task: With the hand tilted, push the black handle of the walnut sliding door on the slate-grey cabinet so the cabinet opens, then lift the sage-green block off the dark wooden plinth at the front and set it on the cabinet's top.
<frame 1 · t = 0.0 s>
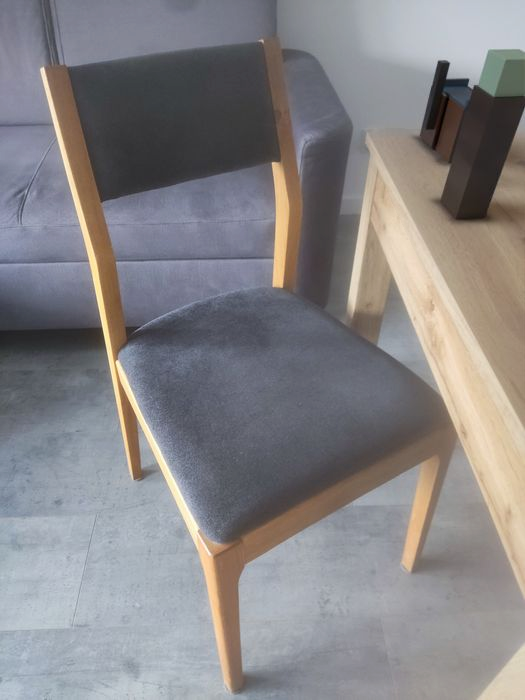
plinth: (461, 212, 74), on the table
block: (500, 91, 63), point 16 cm above the table, touching plinth
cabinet: (450, 151, 89), on the table
door: (432, 102, 85), point 7 cm above the table, slide at 0.0 cm
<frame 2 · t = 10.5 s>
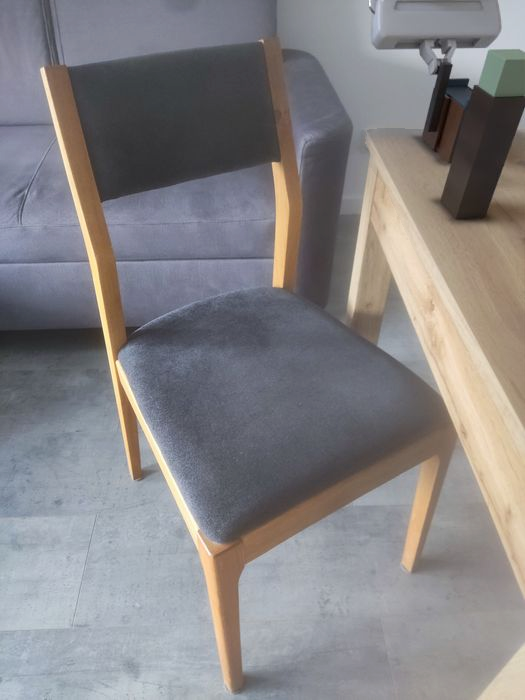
hand: (440, 73, 82), 12 cm above the table, tool tilted 45°, fingers closed, pressing on door
door: (434, 104, 85), point 7 cm above the table, slide at 0.9 cm, touching gripper
everything else where it was.
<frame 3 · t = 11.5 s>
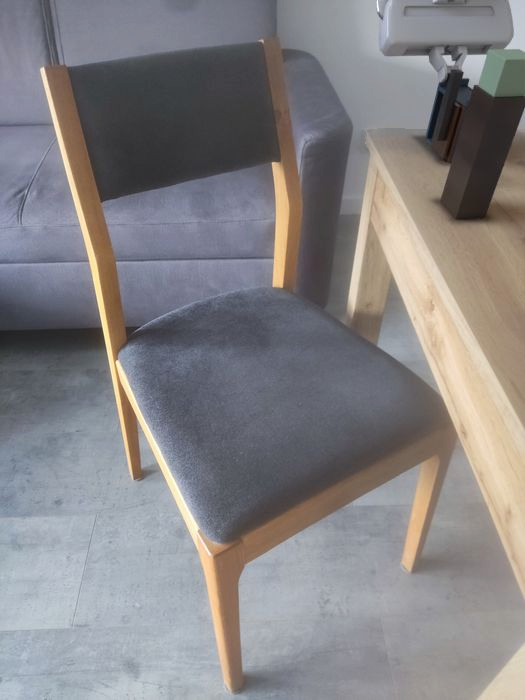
hand: (450, 80, 79), 12 cm above the table, tool tilted 45°, fingers closed, pressing on door
door: (444, 113, 82), point 7 cm above the table, slide at 4.5 cm, touching gripper
everything else where it was.
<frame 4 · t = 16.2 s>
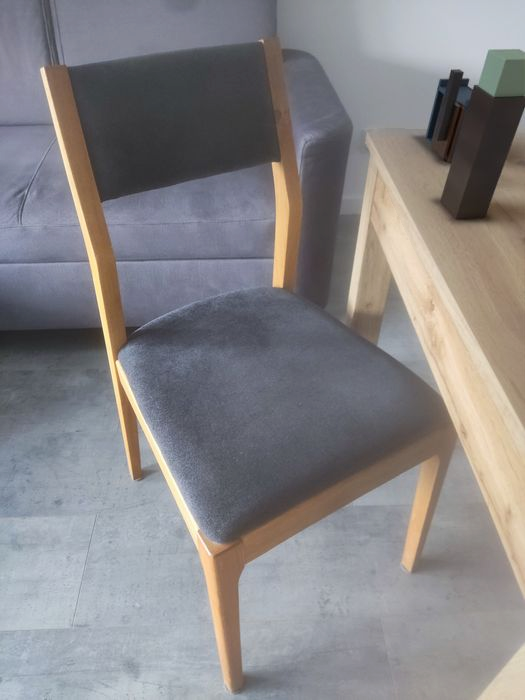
door: (444, 113, 82), point 7 cm above the table, slide at 4.5 cm
everything else where it was.
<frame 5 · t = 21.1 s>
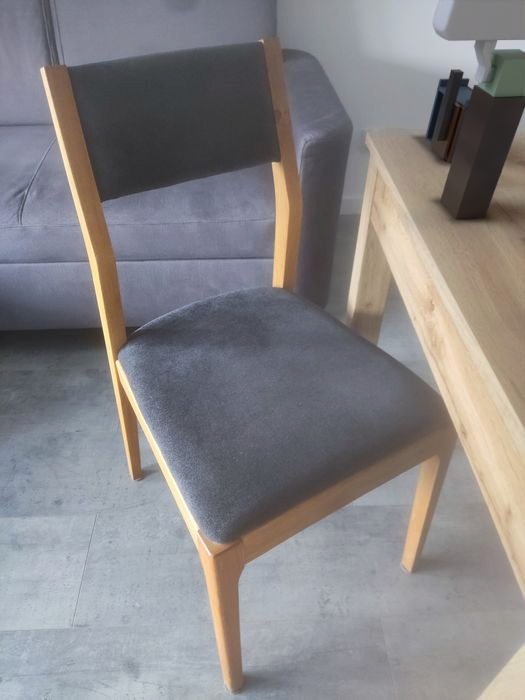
hand: (504, 81, 62), 17 cm above the table, tool pointing down, fingers closed on block, 4 cm apart
block: (500, 91, 63), point 16 cm above the table, touching gripper, plinth
everything else where it was.
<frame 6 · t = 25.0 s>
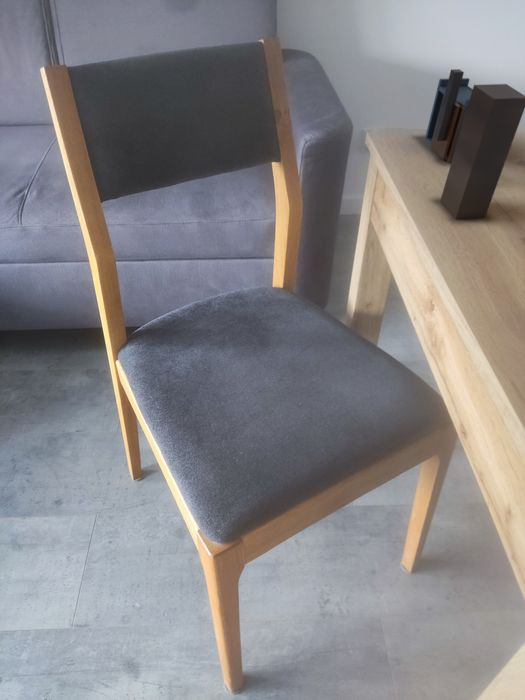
when the fingers open (10 cm above the table, at t = 28.8 s): block stays where it is, resting on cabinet.
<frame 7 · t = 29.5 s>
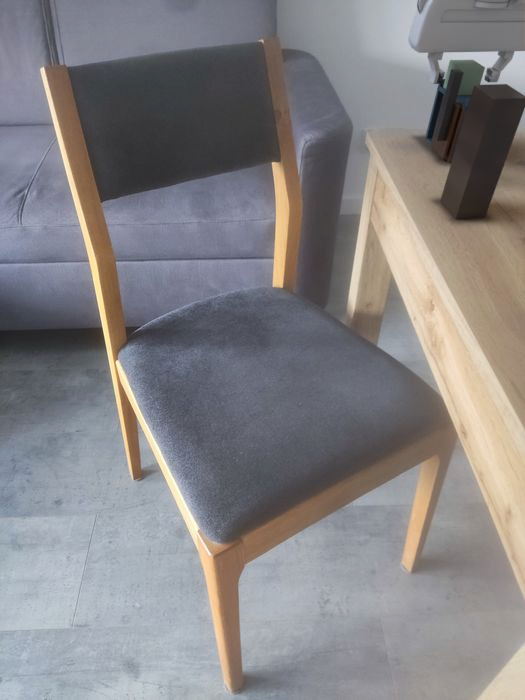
hand: (463, 82, 83), 10 cm above the table, tool pointing down, fingers open, 8 cm apart
block: (459, 91, 84), point 9 cm above the table, touching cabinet
everything else where it was.
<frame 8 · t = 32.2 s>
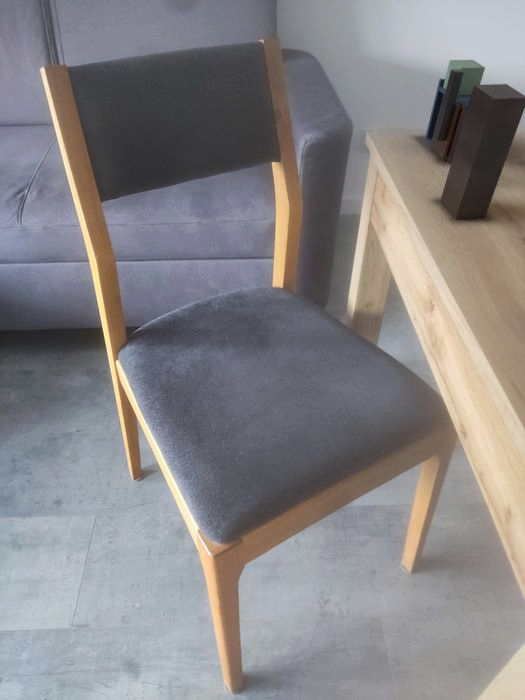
nothing on the table moved.
at the end: door slide at 4.5 cm; block inside the target area on the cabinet (2.1 cm from its centre), point 9.0 cm above the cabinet's base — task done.
